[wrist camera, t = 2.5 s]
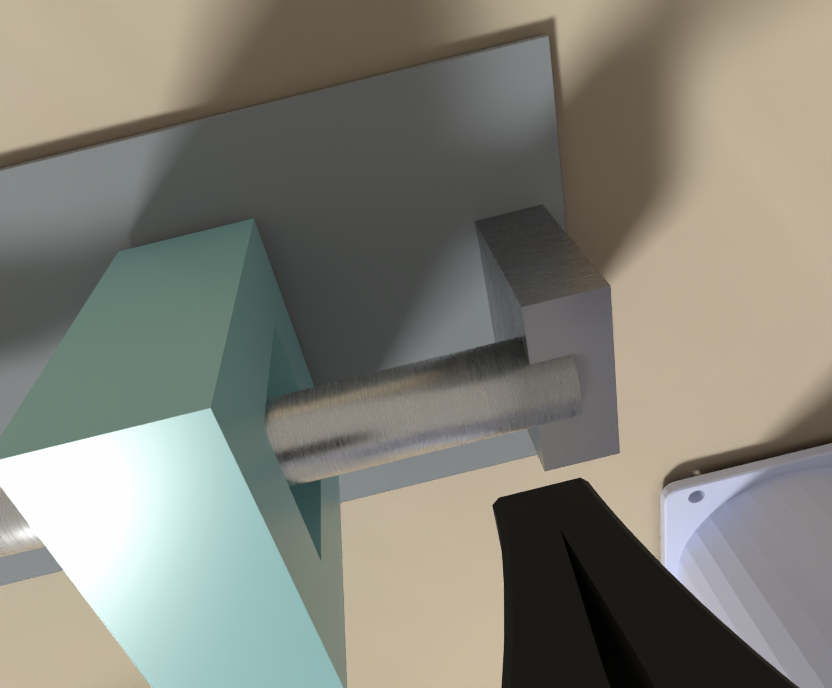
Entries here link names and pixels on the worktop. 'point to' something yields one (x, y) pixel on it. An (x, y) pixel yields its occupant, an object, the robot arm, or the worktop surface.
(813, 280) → the worktop surface
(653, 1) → the worktop surface
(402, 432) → the pipe
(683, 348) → the worktop surface
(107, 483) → the teal slotted block
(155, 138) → the grey rectangular plate
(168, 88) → the worktop surface
